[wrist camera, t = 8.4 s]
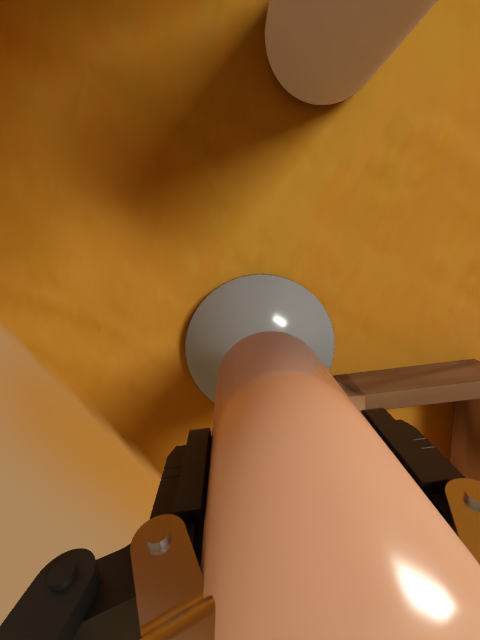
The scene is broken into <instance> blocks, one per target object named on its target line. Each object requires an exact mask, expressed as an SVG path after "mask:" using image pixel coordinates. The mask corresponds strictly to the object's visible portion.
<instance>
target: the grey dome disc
mask: <svg viewBox="0 0 480 640" xmlns="http://www.w3.org/2000/svg"><path fill="white" fill-rule="evenodd" d="M265 331H277V332H283V333H287V334H290V335H293V336H295V337H297V338H299V339H300V340H302V341H303V342H305V343H306V344H307V345H308V346H309V347H310V348H311V349H312V350H313V352H314V353H315V354H316V355H317V357H318V358H319V359H320V361H321V362H322V363H323V364H324V366H325V367H326V368H327V370H328V371H329V369H330V366H331V363H332V360H333V354H334V332H333V328H332V324H331V321H330V319H329V316H328V314H327V312H326V311H325V309H324V307H323V306H322V304H321V303H320V302H319V300H318V299H317V298H316V297H315V296H314V295H313V294H312V293H311V292H309V291H308V290H307V289H305V288H304V287H302V286H301V285H299V284H297V283H295V282H294V281H292V280H289V279H286V278H284V277H280V276H276V275H269V274H252V275H246V276H241V277H238V278H235V279H232V280H230V281H228V282H226V283H224V284H222V285H221V286H219V287H218V288H216V289H215V290H213V291H212V292H211V293H210V294H209V295H208V296H207V297H206V298H205V299H204V300H203V301H202V302H201V304H200V305H199V307H198V308H197V310H196V311H195V313H194V315H193V317H192V319H191V321H190V324H189V327H188V330H187V335H186V340H185V354H186V361H187V365H188V369H189V371H190V374H191V376H192V378H193V380H194V382H195V383H196V385H197V386H198V388H199V389H200V390H201V392H202V393H203V394H204V395H205V396H206V397H207V398H209V399H210V400H211V401H212V402H214V403H215V394H216V382H217V374H218V369H219V366H220V364H221V361H222V360H223V358H224V356H225V355H226V353H227V352H228V351H229V350H230V349H231V347H232V346H234V345H235V344H236V343H237V342H239V341H240V340H242V339H243V338H245V337H247V336H250V335H252V334H255V333H259V332H265Z"/></svg>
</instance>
